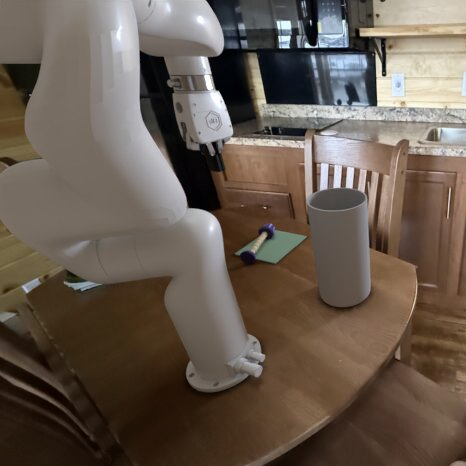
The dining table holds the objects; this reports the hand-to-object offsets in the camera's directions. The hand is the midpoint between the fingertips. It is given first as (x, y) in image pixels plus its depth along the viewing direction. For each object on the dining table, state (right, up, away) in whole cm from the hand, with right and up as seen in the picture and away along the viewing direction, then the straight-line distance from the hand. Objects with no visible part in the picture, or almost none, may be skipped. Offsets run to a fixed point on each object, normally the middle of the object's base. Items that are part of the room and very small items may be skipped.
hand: (217, 170), depth 74 cm
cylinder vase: (+30, -29, +4) cm, 42 cm away
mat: (+4, -19, +22) cm, 29 cm away
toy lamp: (+1, -22, +13) cm, 25 cm away
